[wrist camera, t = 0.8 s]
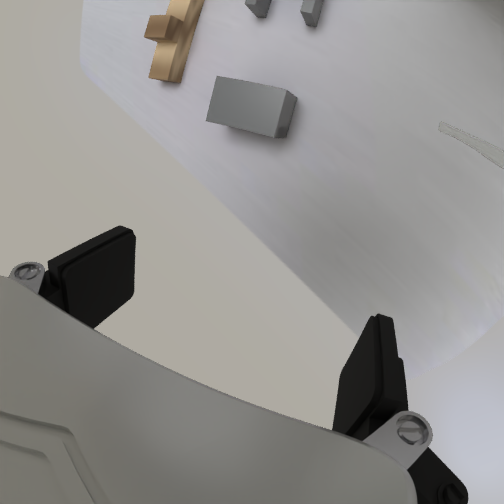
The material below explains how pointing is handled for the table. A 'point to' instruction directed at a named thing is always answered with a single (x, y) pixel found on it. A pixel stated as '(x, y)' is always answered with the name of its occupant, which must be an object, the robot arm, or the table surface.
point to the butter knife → (475, 144)
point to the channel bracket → (251, 107)
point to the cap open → (310, 10)
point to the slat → (173, 38)
